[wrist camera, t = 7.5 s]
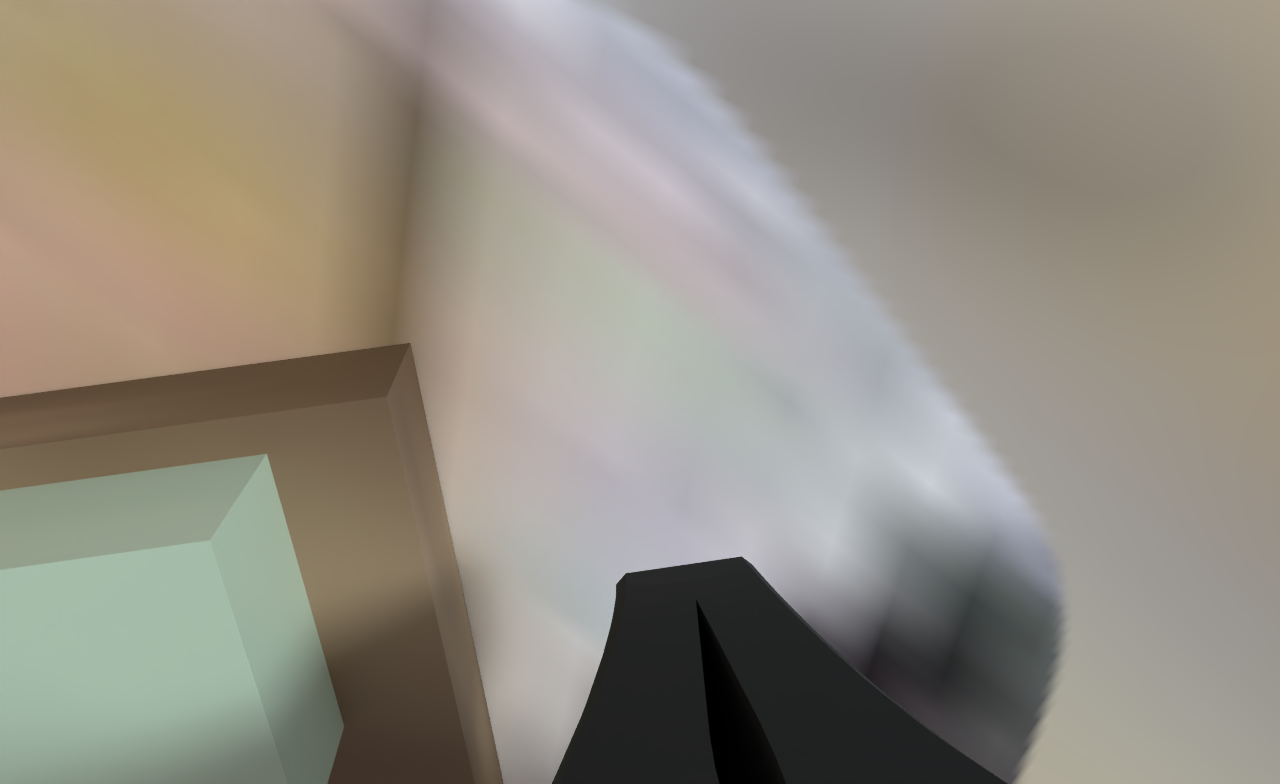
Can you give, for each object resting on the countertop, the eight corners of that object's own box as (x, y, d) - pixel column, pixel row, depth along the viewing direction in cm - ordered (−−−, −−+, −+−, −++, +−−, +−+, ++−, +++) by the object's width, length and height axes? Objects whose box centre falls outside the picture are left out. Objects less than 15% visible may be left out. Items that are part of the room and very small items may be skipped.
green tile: (344, 726, 12) (308, 848, 11) (36, 772, 12) (-57, 905, 10) (266, 454, 11) (209, 540, 9) (-86, 501, 11) (-217, 600, 9)
